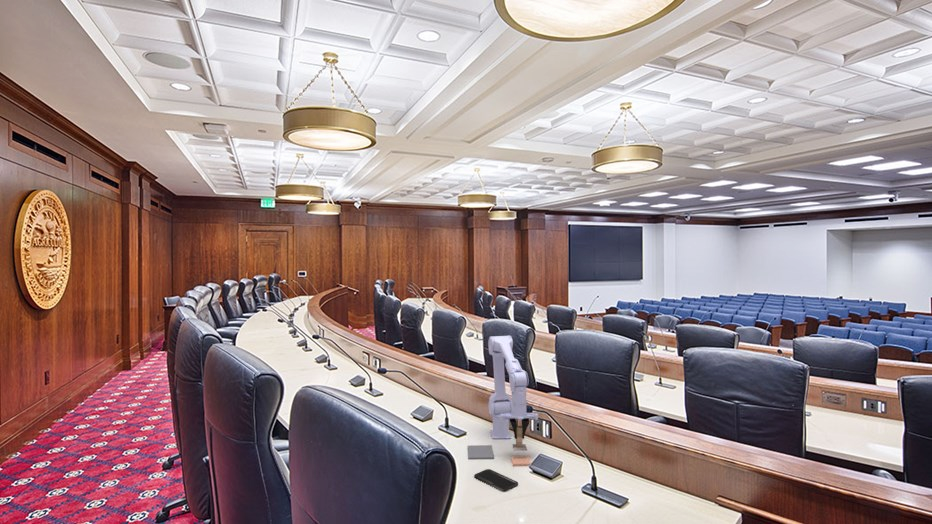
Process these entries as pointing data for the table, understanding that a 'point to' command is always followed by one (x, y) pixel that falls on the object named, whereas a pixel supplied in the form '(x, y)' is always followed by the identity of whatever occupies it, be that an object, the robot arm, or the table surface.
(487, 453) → the mat
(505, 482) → the phone
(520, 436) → the grey square paddle
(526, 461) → the tile
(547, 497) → the table surface
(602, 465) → the table surface
